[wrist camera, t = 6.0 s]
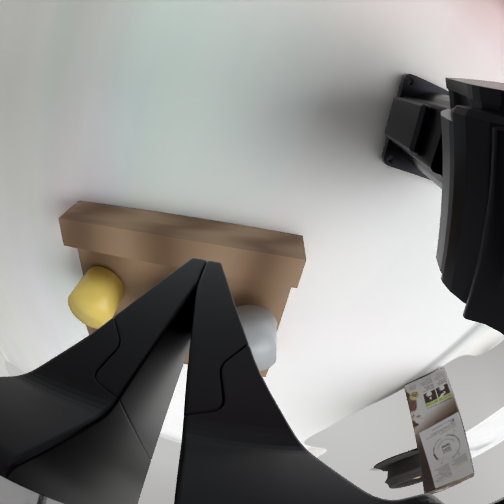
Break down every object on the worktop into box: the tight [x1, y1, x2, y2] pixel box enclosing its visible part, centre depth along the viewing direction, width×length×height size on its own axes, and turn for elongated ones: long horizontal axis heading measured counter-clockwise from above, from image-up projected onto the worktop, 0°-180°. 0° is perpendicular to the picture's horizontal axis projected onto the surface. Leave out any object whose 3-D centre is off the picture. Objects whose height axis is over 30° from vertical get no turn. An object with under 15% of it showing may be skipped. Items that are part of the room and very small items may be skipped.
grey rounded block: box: [236, 305, 277, 371], centre depth 22 cm, size 4×4×3 cm
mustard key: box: [68, 266, 125, 329], centre depth 22 cm, size 4×4×3 cm
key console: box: [59, 201, 306, 377], centre depth 24 cm, size 18×14×3 cm
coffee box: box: [404, 367, 474, 494], centre depth 27 cm, size 9×6×16 cm
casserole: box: [374, 448, 423, 488], centre depth 50 cm, size 25×19×8 cm
